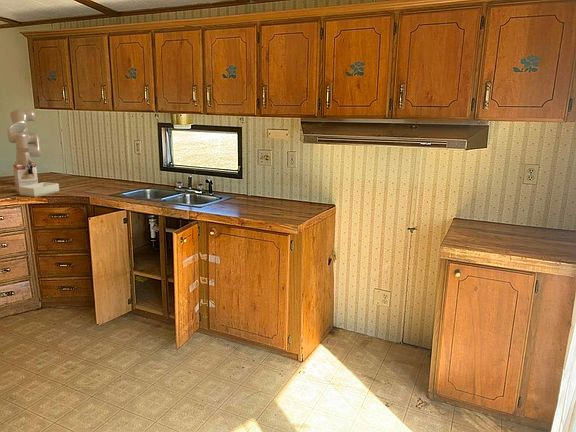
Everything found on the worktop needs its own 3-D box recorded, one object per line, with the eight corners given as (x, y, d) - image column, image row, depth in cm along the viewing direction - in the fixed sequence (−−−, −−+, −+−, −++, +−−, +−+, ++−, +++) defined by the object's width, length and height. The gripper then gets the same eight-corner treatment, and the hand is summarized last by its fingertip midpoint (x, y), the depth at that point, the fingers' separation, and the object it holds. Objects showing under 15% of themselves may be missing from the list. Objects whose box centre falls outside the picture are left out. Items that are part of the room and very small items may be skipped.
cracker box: (20, 193, 319) (16, 164, 313) (16, 191, 322) (12, 164, 317) (39, 190, 330) (36, 163, 325) (35, 189, 333) (32, 162, 328)
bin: (19, 195, 312) (18, 186, 310) (45, 189, 332) (44, 182, 331) (34, 196, 308) (33, 188, 306) (59, 191, 328) (58, 183, 326)
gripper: (9, 150, 317) (12, 173, 321) (27, 151, 312) (30, 175, 316) (18, 149, 324) (21, 172, 328) (36, 150, 319) (38, 173, 323)
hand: (25, 173), depth 322 cm, fingers open, 9 cm apart
